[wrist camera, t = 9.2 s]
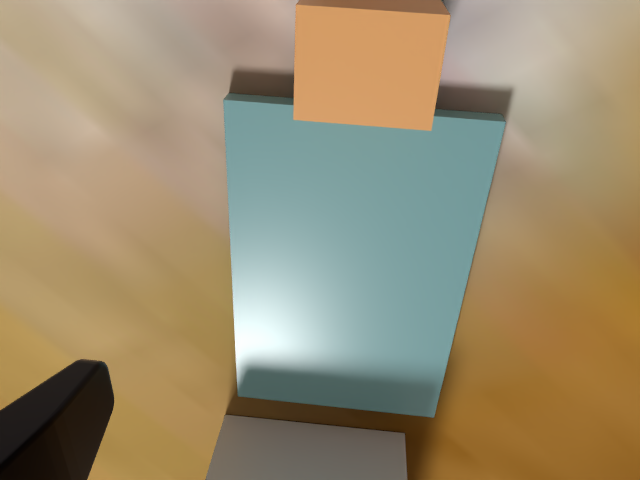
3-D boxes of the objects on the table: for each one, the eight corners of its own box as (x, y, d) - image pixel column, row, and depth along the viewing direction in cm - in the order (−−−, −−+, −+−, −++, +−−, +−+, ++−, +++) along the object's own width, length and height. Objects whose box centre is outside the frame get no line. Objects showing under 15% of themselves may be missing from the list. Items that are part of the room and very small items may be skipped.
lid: (528, -4, 16) (574, 23, 12) (432, 404, 25) (441, 489, 22) (224, -24, 16) (178, -4, 13) (241, 383, 26) (218, 463, 22)
